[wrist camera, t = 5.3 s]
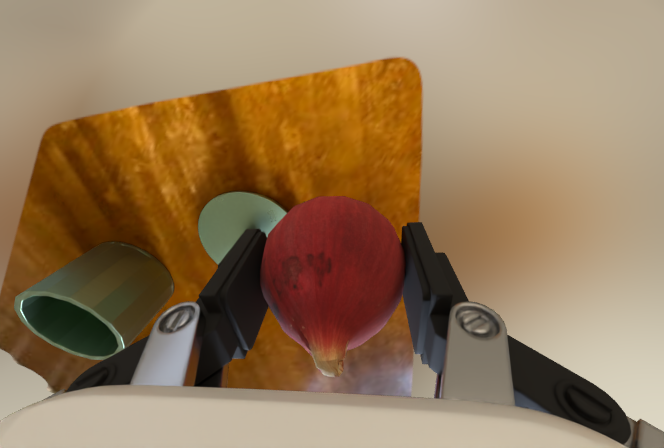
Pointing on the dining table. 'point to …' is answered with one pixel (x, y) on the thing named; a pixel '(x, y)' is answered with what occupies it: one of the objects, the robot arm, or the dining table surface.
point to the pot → (97, 300)
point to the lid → (235, 220)
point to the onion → (332, 276)
